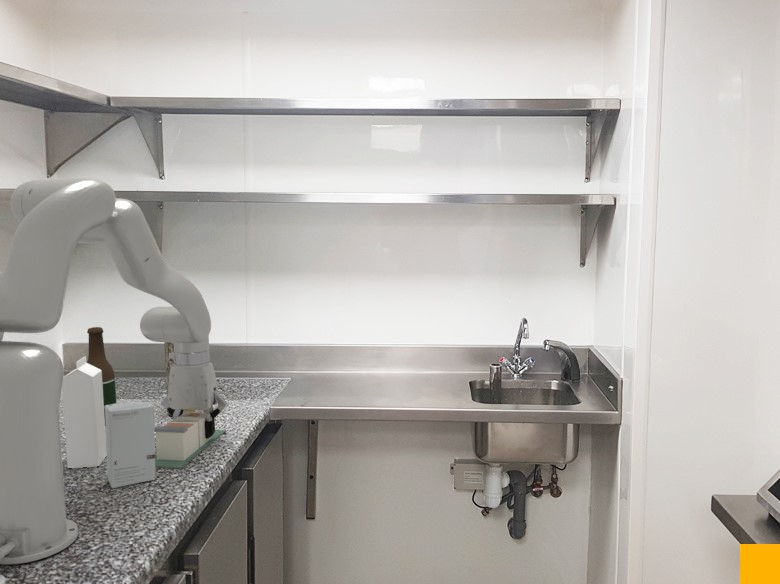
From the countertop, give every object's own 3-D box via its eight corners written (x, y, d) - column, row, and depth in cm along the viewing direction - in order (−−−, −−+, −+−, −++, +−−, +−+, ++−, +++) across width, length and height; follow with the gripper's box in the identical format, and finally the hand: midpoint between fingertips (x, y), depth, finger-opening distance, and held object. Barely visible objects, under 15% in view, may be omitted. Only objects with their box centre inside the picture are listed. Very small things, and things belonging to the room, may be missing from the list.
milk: (107, 456, 133) (101, 355, 131) (98, 467, 127) (92, 361, 125) (76, 458, 132) (70, 356, 130) (66, 469, 126) (60, 362, 124)
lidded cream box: (185, 461, 129) (184, 429, 128) (154, 459, 130) (153, 428, 129) (200, 448, 136) (199, 418, 135) (171, 447, 137) (169, 417, 136)
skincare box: (111, 489, 116) (106, 412, 114) (106, 478, 121) (102, 404, 119) (158, 479, 120) (154, 404, 119) (151, 469, 126) (148, 397, 124)
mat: (180, 468, 126) (180, 467, 126) (143, 466, 127) (143, 465, 127) (225, 431, 148) (225, 430, 148) (194, 430, 149) (193, 428, 149)
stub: (200, 447, 137) (199, 420, 136) (174, 446, 138) (173, 419, 137) (211, 438, 143) (210, 412, 142) (186, 437, 144) (185, 411, 143)
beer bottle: (113, 426, 153) (107, 329, 150) (79, 428, 151) (72, 331, 149) (121, 416, 160) (116, 324, 158) (89, 418, 159) (83, 325, 156)
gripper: (147, 361, 137) (151, 440, 139) (222, 362, 134) (225, 443, 136) (164, 353, 144) (167, 429, 146) (235, 355, 142) (238, 432, 144)
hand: (195, 435), depth 141 cm, fingers closed on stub, 6 cm apart
